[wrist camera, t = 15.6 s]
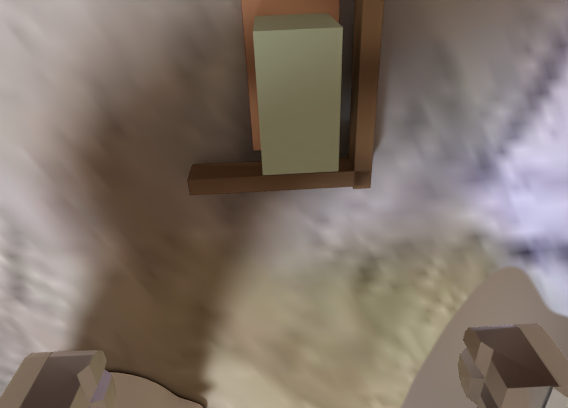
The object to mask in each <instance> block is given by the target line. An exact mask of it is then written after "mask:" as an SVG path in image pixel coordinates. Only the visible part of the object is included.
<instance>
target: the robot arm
mask: <svg viewBox="0 0 568 408" xmlns="http://www.w3.org/2000/svg"><path fill="white" fill-rule="evenodd" d="M463 341H464V343H465V345H466V347H467V348H466V349H465V350H464V351H462V353H460V356H459V361H458V371H459V378H460V381H461V385H462V387H463V390H464V392H465V394H466V397H468V398H469V399H470V400H471V401H473V402H474V403H475V404H477V405H478V407H477V408H568V360H567V359H566V357H565V356H564V355H563V354H562V352H561V351H560V349H559V348H558V347H557V346H556V344H555V343H554V342H553V340H552V339H551V338H550V336H549V335H548V334H547V333H546V331H545V330H544V329H543V327H542V326H540V325H539V324H537V323H530V324H515V325H497V326H483V327H470V328H468V329H467V330H466V331H465V334H464V338H463ZM106 363H107V359H106V357H105V354H104V352H103V351H100V350H88V351H58V352H40V353H31V354H30V355H28V356H27V357H26V358H25V359H24V360H23V362H22V363H21V365H20V367H19V368H18V370H17V371H16V373H15V375H14V376H13V378H12V380H11V381H10V383H9V384H8V386H7V388H6V389H5V391H4V393H3V394H2V396H1V397H0V408H204V407H203V406H201V405H200V404H197V403H195V402H192V401H189V400H186V399H182V398H179V397H177V396H176V395H174V394H172V393H171V392H170V391H168V390H167V389H165V388H164V387H162V386H160V385H158V384H157V383H154V382H152V381H150V380H147V379H144V378H141V377H138V376H134V375H129V374H123V373H113V372H108V371H106V370H105V369H104V368H105V366H106Z"/></svg>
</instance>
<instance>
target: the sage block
mask: <svg viewBox="0 0 568 408" xmlns="http://www.w3.org/2000/svg"><path fill="white" fill-rule="evenodd" d="M342 40H343V27H342V26H341V25H340V24H339V23H338V22H337V21H336V20H335V19H334V18H333V17H331V16H330V15H329V14H328V13H309V14H287V15H265V16H255V19H254V26H253V41H254V55H255V70H256V84H257V98H258V113H259V127H260V141H261V156H262V170H263V175H276V174H295V173H315V172H334V171H338V169H339V137H340V105H341V73H342Z"/></svg>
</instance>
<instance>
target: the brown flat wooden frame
mask: <svg viewBox="0 0 568 408" xmlns="http://www.w3.org/2000/svg"><path fill="white" fill-rule="evenodd" d="M241 3H242V15H243V27H244V40H245V52H246V64H247V77H248V89H249V101H250V114H251V126H252V138H253V151H255V150H261V141H260V127H259V113H258V98H257V84H256V70H255V55H254V41H253V26H254V19H255V16H265V15H287V14H309V13H328V14H329V15H330V16H331V17H333V18H334V19H335V20H336V21H337V22H338V23H339V4H340V0H241ZM383 9H384V0H355V9H354V33H353V57H352V81H351V105H350V128H349V152H348V157H339V169H338V171H334V172H315V173H295V174H276V175H263V170H262V161H253V162H234V163H215V164H196V165H192V168H191V171H190V174H189V177H188V180H187V181H188V186H189V192H190V195H204V194H223V193H241V192H260V191H279V190H297V189H316V188H334V187H353V189H361V188H370V186H371V172H372V159H373V145H374V132H375V118H376V104H377V91H378V77H379V64H380V50H381V37H382V23H383Z"/></svg>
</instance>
